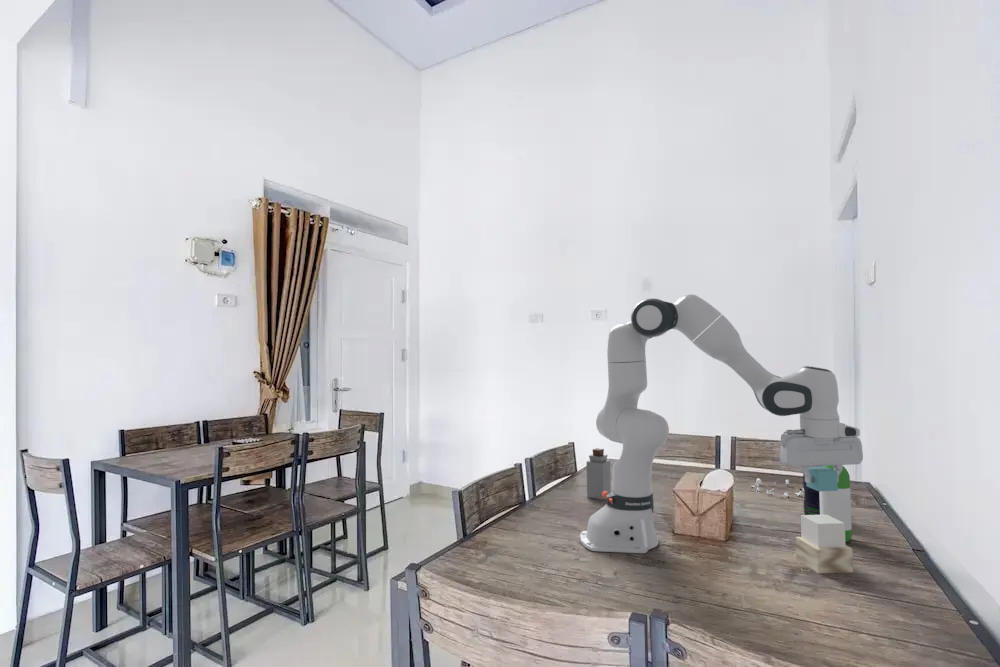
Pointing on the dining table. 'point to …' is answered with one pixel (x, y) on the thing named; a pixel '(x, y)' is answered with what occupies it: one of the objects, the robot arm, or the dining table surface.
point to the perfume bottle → (598, 474)
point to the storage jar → (811, 500)
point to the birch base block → (824, 557)
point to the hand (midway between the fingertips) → (821, 482)
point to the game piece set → (773, 488)
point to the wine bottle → (838, 502)
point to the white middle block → (823, 531)
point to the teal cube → (823, 479)
